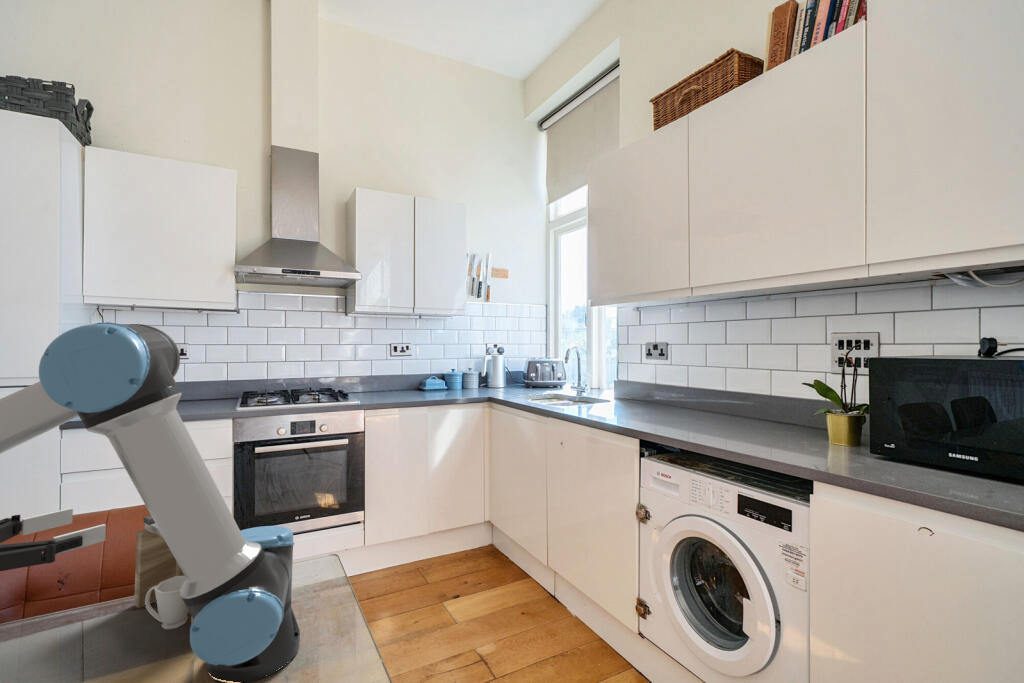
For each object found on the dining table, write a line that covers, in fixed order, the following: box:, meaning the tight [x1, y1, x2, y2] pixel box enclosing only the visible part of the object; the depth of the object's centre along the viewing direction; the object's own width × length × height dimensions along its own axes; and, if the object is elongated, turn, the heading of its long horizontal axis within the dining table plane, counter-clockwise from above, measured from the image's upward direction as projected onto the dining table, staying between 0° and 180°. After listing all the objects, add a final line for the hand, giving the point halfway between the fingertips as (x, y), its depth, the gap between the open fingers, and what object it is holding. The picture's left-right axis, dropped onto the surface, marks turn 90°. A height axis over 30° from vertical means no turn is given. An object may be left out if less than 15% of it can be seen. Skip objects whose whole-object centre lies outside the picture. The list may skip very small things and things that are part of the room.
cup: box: [145, 576, 190, 630], centre depth 95 cm, size 7×10×8 cm
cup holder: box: [133, 514, 193, 626], centre depth 98 cm, size 24×9×19 cm, turn 62°
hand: (87, 523), depth 83 cm, fingers open, 13 cm apart
